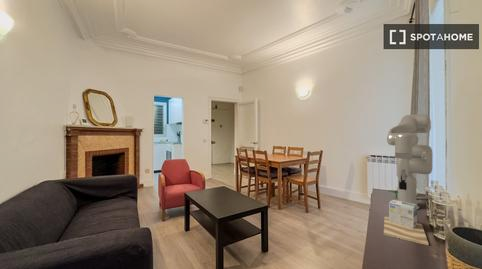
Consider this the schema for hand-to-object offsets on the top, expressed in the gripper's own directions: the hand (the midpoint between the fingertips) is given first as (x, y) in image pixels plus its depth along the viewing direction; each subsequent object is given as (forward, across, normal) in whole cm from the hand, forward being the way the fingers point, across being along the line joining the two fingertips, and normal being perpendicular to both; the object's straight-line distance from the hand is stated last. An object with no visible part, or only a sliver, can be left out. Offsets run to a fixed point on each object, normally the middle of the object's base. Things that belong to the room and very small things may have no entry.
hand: (402, 189), depth 116 cm
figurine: (+17, -42, -1) cm, 45 cm away
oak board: (+17, +14, 0) cm, 22 cm away
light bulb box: (+16, +8, 0) cm, 18 cm away
